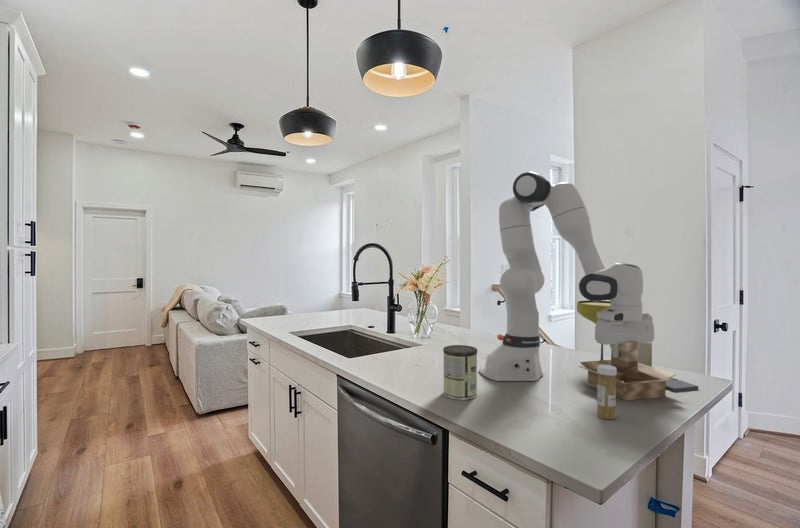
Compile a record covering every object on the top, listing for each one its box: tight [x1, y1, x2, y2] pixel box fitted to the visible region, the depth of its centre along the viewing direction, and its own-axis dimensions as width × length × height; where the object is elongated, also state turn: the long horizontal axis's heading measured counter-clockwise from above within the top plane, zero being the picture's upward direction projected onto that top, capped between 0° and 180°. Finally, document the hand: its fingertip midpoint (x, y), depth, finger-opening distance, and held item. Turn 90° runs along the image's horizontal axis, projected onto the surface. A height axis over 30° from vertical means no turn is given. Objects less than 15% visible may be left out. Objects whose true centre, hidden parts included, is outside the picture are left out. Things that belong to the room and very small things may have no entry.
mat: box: [666, 377, 699, 392], centre depth 131 cm, size 10×10×1 cm
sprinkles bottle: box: [596, 365, 617, 420], centre depth 105 cm, size 5×5×14 cm
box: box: [638, 342, 653, 367], centre depth 147 cm, size 5×4×11 cm
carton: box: [578, 359, 678, 401], centre depth 126 cm, size 23×23×6 cm
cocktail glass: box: [576, 300, 611, 361], centre depth 150 cm, size 18×18×25 cm
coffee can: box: [442, 344, 478, 401], centre depth 121 cm, size 10×10×14 cm
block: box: [610, 341, 639, 375], centre depth 126 cm, size 4×6×10 cm
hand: (624, 356), depth 126 cm, fingers closed on block, 4 cm apart
